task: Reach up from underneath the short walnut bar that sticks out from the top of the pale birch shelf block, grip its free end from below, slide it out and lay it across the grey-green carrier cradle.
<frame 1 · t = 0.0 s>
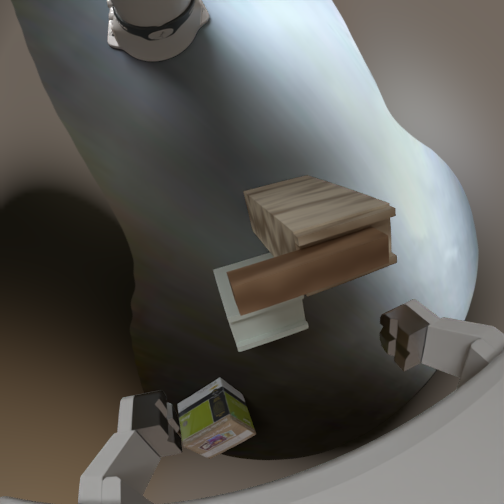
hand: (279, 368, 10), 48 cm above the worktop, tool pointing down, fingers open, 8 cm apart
tea box: (210, 398, 73), on the worktop
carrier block: (245, 276, 63), on the worktop
walnut bar: (306, 261, 34), point 26 cm above the worktop, touching shelf block
shelf block: (280, 202, 59), on the worktop
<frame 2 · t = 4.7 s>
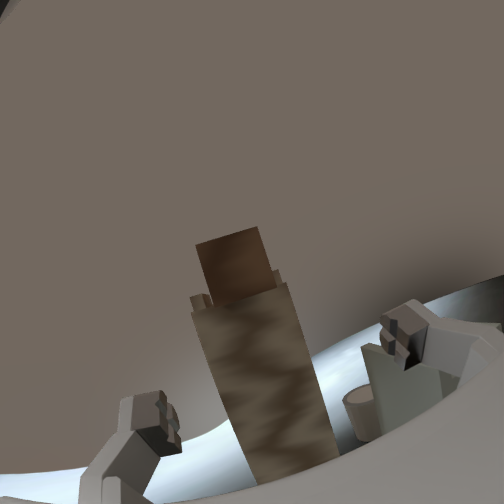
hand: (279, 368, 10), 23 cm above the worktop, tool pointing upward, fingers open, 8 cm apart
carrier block: (441, 481, 19), on the worktop
walnut bar: (238, 297, 25), point 26 cm above the worktop, touching shelf block
shelf block: (305, 493, 27), on the worktop
grey brown short cylinder: (374, 431, 37), on the worktop
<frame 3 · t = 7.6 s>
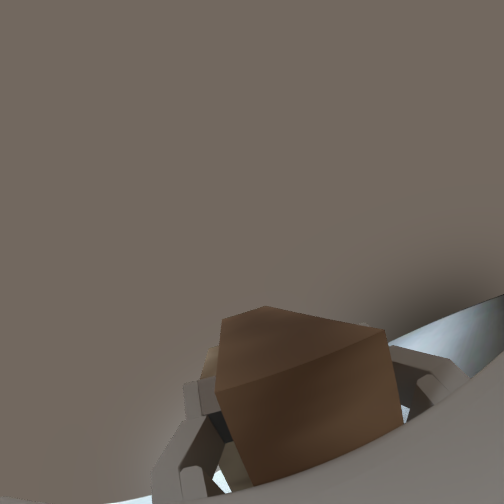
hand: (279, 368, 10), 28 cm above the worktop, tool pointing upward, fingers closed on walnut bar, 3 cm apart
walnut bar: (277, 388, 14), point 26 cm above the worktop, touching gripper, shelf block
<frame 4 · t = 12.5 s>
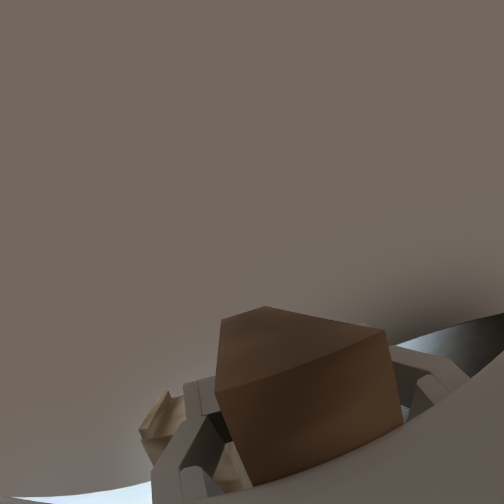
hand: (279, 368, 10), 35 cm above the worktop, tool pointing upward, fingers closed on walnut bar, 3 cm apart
walnut bar: (276, 388, 14), point 33 cm above the worktop, touching gripper
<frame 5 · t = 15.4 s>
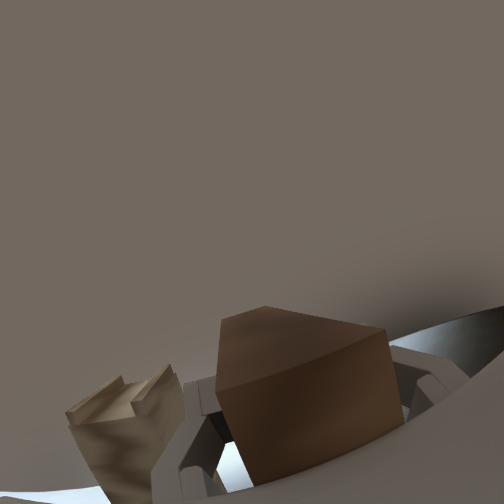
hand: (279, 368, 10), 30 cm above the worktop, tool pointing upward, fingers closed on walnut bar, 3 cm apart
walnut bar: (277, 388, 14), point 28 cm above the worktop, touching gripper
when the fingers open (20 cm above the worktop, at t = 17.8 s): walnut bar drops 2 cm, resting on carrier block.
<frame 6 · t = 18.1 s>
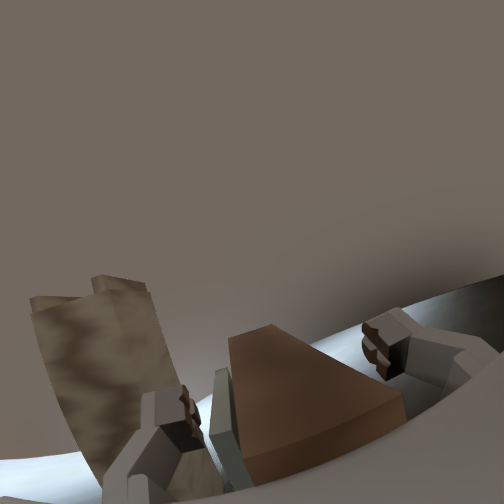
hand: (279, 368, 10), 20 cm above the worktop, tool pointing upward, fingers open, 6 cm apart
walnut bar: (286, 414, 14), point 16 cm above the worktop, touching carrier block
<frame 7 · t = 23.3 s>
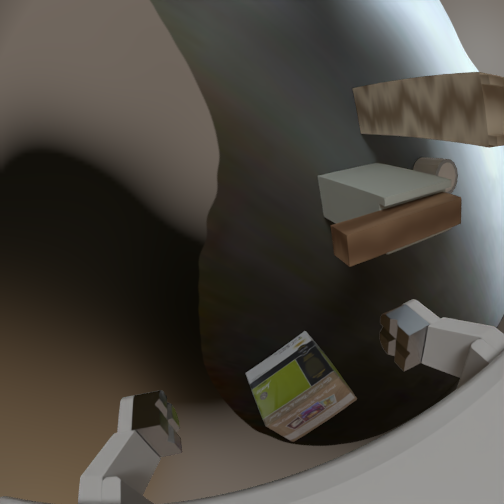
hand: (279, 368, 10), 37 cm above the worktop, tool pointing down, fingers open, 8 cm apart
tea box: (286, 362, 60), on the worktop
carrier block: (351, 188, 49), on the worktop
walnut bar: (395, 219, 34), point 16 cm above the worktop, touching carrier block
shelf block: (386, 108, 45), on the worktop
grey brown short cylinder: (421, 171, 52), on the worktop
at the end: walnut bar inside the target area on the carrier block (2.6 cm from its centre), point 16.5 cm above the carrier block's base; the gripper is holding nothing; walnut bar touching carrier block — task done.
